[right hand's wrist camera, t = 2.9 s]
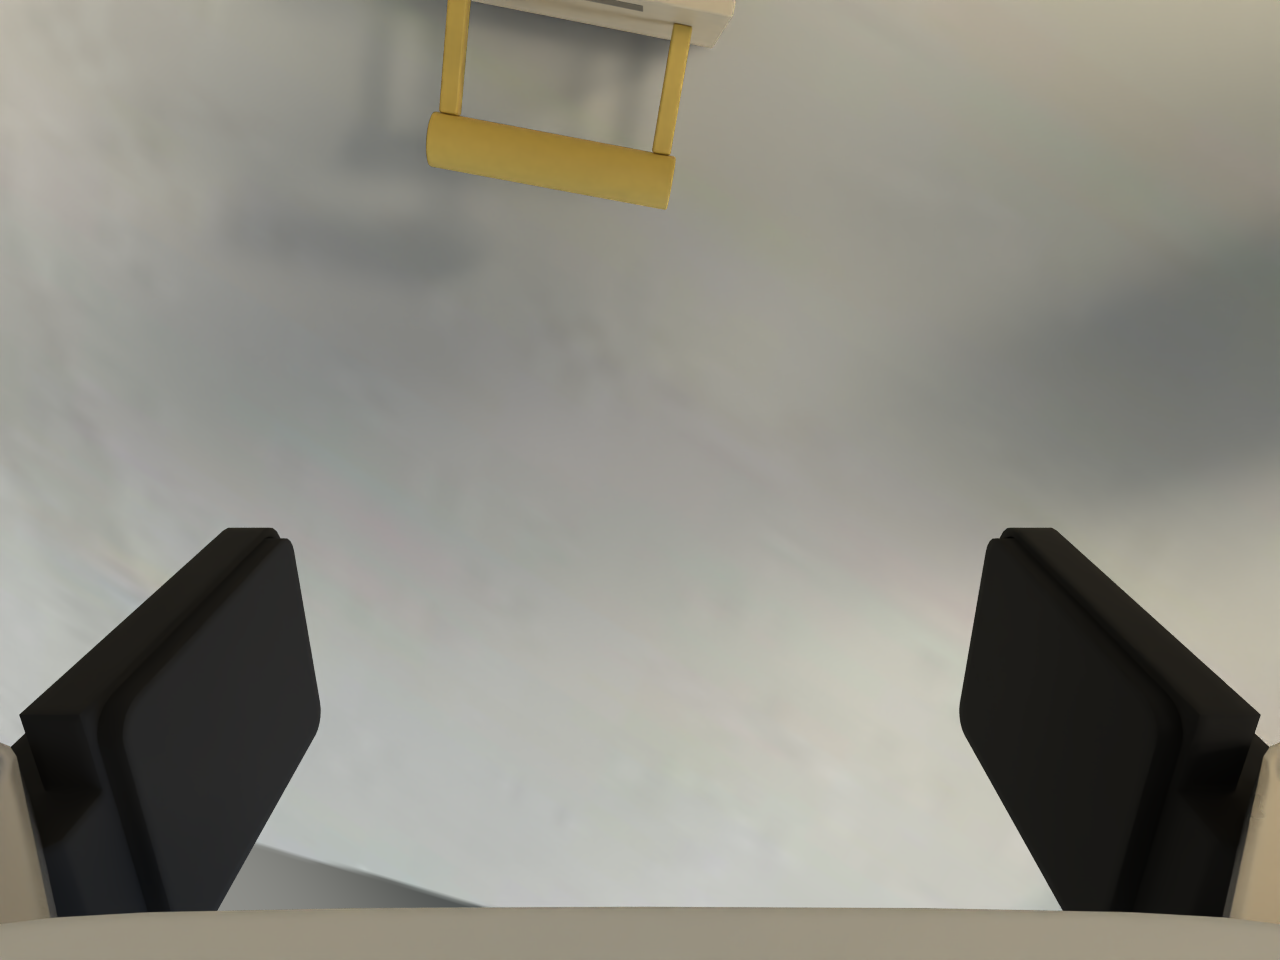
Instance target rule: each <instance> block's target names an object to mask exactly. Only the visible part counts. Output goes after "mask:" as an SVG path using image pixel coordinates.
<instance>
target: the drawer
mask: <svg viewBox="0 0 1280 960" xmlns="http://www.w3.org/2000/svg"><path fill="white" fill-rule="evenodd" d="M471 1H475V2H480V3H485V4H490V5H495V6H500V7H505V8H510V9H515V10H520V11H526V12H531V13H536V14H541V15H546V16H551V17H556V18H561V19H566V20H571V21H576V22H581V23H586V24H591V25H596V26H602V27H607V28H612V29H617V30H622V31H627V32H632V33H637V34H642V35H647V36H652V37H657V38H662V39H667V40H671V41H670V47H669V53H668V59H667V65H666V71H665V77H664V82H663V88H662V94H661V100H660V106H659V112H658V118H657V124H656V130H655V136H654V142H653V148H652V152H647V151H642V150H637V149H632V148H626V147H621V146H616V145H610V144H605V143H600V142H595V141H589V140H584V139H579V138H573V137H568V136H563V135H558V134H552V133H547V132H542V131H536V130H531V129H526V128H520V127H515V126H510V125H505V124H499V123H494V122H489V121H483V120H478V119H473V118H468V117H462V116H460V115H461V107H462V96H463V84H464V73H465V61H466V50H467V38H468V27H469V15H470V4H471ZM735 2H736V0H448V3H447V16H446V29H445V42H444V55H443V67H442V80H441V93H440V106H439V111H440V112H433V114H432V115H431V118H430V120H429V124H428V129H427V138H426V155H427V161H428V164H429V165H430V166H431V167H437V168H442V169H447V170H453V171H458V172H464V173H469V174H475V175H480V176H485V177H491V178H496V179H502V180H507V181H512V182H518V183H523V184H529V185H534V186H539V187H545V188H550V189H556V190H561V191H566V192H572V193H577V194H583V195H588V196H593V197H599V198H604V199H610V200H615V201H620V202H626V203H631V204H637V205H642V206H647V207H653V208H658V209H664V210H666V209H667V206H668V202H669V197H670V192H671V186H672V181H673V175H674V168H675V161H676V159H675V157H674V156H669V155H670V153H671V148H672V142H673V136H674V131H675V125H676V119H677V114H678V108H679V102H680V96H681V91H682V85H683V79H684V74H685V68H686V62H687V57H688V51H689V45H690V44H693V45H698V46H703V47H708V48H713V46H714V45H715V43H716V41H717V40H718V38H719V37H720V35H721V34H722V32H723V30H724V29H725V27H726V26H727V24H728V23H729V21H730V19H731V18H732V16H733V13H734V8H735ZM653 152H654V153H653Z"/></svg>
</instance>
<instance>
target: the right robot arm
mask: <svg viewBox="0 0 1280 960" xmlns="http://www.w3.org/2000/svg"><path fill="white" fill-rule="evenodd" d="M320 714H321V708H320V700H319V694H318V688H317V682H316V677H315V671H314V665H313V659H312V653H311V647H310V642H309V636H308V630H307V624H306V618H305V612H304V607H303V601H302V595H301V589H300V583H299V577H298V572H297V566H296V560H295V554H294V549H293V546H292V544H291V542H290V541H289V540H288V539H285V538H280V537H279V535H278V533H277V531H276V530H274V529H273V528H227V529H225V530H224V531H222V532H221V533H220V534H219V535H218V536H217V537H216V538H215V539H214V540H212V541H211V542H210V543H209V544H208V545H207V546H206V547H205V548H204V549H202V550H201V551H200V552H199V553H198V554H197V555H196V556H195V557H194V558H192V559H191V560H190V561H189V562H188V563H187V564H186V565H185V566H184V567H182V568H181V569H180V570H179V571H178V572H177V573H176V574H175V575H174V576H173V577H171V578H170V579H169V580H168V581H167V582H166V583H165V584H164V585H163V586H161V587H160V588H159V589H158V590H157V591H156V592H155V593H154V594H153V595H151V596H150V597H149V598H148V599H147V600H146V601H145V602H144V603H143V604H141V605H140V606H139V607H138V608H137V609H136V610H135V611H134V612H133V613H132V614H130V615H129V616H128V617H127V618H126V619H125V620H124V621H123V622H122V623H120V624H119V625H118V626H117V627H116V628H115V629H114V630H113V631H112V632H110V633H109V634H108V635H107V636H106V637H105V638H104V639H103V640H102V641H100V642H99V643H98V644H97V645H96V646H95V647H94V648H93V649H92V650H91V651H89V652H88V653H87V654H86V655H85V656H84V657H83V658H82V659H81V660H79V661H78V662H77V663H76V664H75V665H74V666H73V667H72V668H71V669H69V670H68V671H67V672H66V673H65V674H64V675H63V676H62V677H61V678H59V679H58V680H57V681H56V682H55V683H54V684H53V685H52V686H51V687H50V688H48V689H47V690H46V691H45V692H44V693H43V694H42V695H41V696H40V697H38V698H37V699H36V700H35V701H34V702H33V703H32V704H31V705H30V706H28V707H27V708H26V709H25V710H24V711H23V712H22V713H21V714H20V718H21V721H22V724H23V727H24V730H25V734H24V735H23V736H22V737H21V738H20V739H19V740H18V741H17V742H16V743H15V744H13V745H12V746H11V747H10V746H7V745H5V744H2V743H0V960H1280V743H1278V744H1275V745H1273V746H1270V747H1269V746H1268V745H1267V744H1265V743H1264V742H1263V741H1262V740H1261V739H1260V738H1259V737H1258V736H1257V735H1256V734H1255V730H1256V727H1257V724H1258V721H1259V718H1260V714H1259V713H1258V712H1257V711H1256V710H1255V709H1254V708H1253V707H1252V706H1250V705H1249V704H1248V703H1247V702H1246V701H1245V700H1244V699H1243V698H1242V697H1240V696H1239V695H1238V694H1237V693H1236V692H1235V691H1234V690H1233V689H1232V688H1230V687H1229V686H1228V685H1227V684H1226V683H1225V682H1224V681H1223V680H1222V679H1221V678H1219V677H1218V676H1217V675H1216V674H1215V673H1214V672H1213V671H1212V670H1211V669H1209V668H1208V667H1207V666H1206V665H1205V664H1204V663H1203V662H1202V661H1201V660H1199V659H1198V658H1197V657H1196V656H1195V655H1194V654H1193V653H1192V652H1191V651H1189V650H1188V649H1187V648H1186V647H1185V646H1184V645H1183V644H1182V643H1181V642H1180V641H1178V640H1177V639H1176V638H1175V637H1174V636H1173V635H1172V634H1171V633H1170V632H1168V631H1167V630H1166V629H1165V628H1164V627H1163V626H1162V625H1161V624H1160V623H1158V622H1157V621H1156V620H1155V619H1154V618H1153V617H1152V616H1151V615H1150V614H1148V613H1147V612H1146V611H1145V610H1144V609H1143V608H1142V607H1141V606H1140V605H1139V604H1137V603H1136V602H1135V601H1134V600H1133V599H1132V598H1131V597H1130V596H1129V595H1127V594H1126V593H1125V592H1124V591H1123V590H1122V589H1121V588H1120V587H1119V586H1117V585H1116V584H1115V583H1114V582H1113V581H1112V580H1111V579H1110V578H1109V577H1107V576H1106V575H1105V574H1104V573H1103V572H1102V571H1101V570H1100V569H1099V568H1098V567H1096V566H1095V565H1094V564H1093V563H1092V562H1091V561H1090V560H1089V559H1088V558H1086V557H1085V556H1084V555H1083V554H1082V553H1081V552H1080V551H1079V550H1078V549H1076V548H1075V547H1074V546H1073V545H1072V544H1071V543H1070V542H1069V541H1068V540H1066V539H1065V538H1064V537H1063V536H1062V535H1061V534H1060V533H1059V532H1058V531H1056V530H1055V529H1053V528H1007V529H1006V530H1004V531H1003V533H1002V535H1001V537H1000V538H995V539H992V540H991V541H990V542H989V544H988V546H987V549H986V554H985V560H984V566H983V572H982V577H981V583H980V589H979V595H978V601H977V607H976V612H975V618H974V624H973V630H972V636H971V642H970V647H969V653H968V659H967V665H966V671H965V677H964V682H963V688H962V694H961V700H960V708H959V714H960V723H961V727H962V730H963V732H964V735H965V737H966V738H967V740H968V742H969V744H970V746H971V747H972V749H973V751H974V753H975V755H976V756H977V758H978V760H979V762H980V763H981V765H982V767H983V769H984V771H985V772H986V774H987V776H988V778H989V780H990V781H991V783H992V785H993V787H994V788H995V790H996V792H997V794H998V796H999V797H1000V799H1001V801H1002V803H1003V805H1004V806H1005V808H1006V810H1007V812H1008V814H1009V815H1010V817H1011V819H1012V821H1013V822H1014V824H1015V826H1016V828H1017V830H1018V831H1019V833H1020V835H1021V837H1022V839H1023V840H1024V842H1025V844H1026V846H1027V847H1028V849H1029V851H1030V853H1031V855H1032V856H1033V858H1034V860H1035V862H1036V864H1037V865H1038V867H1039V869H1040V871H1041V873H1042V874H1043V876H1044V878H1045V880H1046V881H1047V883H1048V885H1049V887H1050V889H1051V890H1052V892H1053V894H1054V896H1055V898H1056V899H1057V901H1058V903H1059V905H1060V906H1061V908H1062V910H1063V911H1040V910H988V909H936V908H771V907H509V908H344V909H292V910H241V911H217V910H218V908H219V906H220V905H221V903H222V901H223V899H224V898H225V896H226V894H227V892H228V890H229V889H230V887H231V885H232V883H233V881H234V880H235V878H236V876H237V874H238V872H239V871H240V869H241V867H242V865H243V864H244V862H245V860H246V858H247V856H248V855H249V853H250V851H251V849H252V847H253V846H254V844H255V842H256V840H257V839H258V837H259V835H260V833H261V831H262V830H263V828H264V826H265V824H266V822H267V821H268V819H269V817H270V815H271V814H272V812H273V810H274V808H275V806H276V805H277V803H278V801H279V799H280V797H281V796H282V794H283V792H284V790H285V788H286V787H287V785H288V783H289V781H290V780H291V778H292V776H293V774H294V772H295V771H296V769H297V767H298V765H299V763H300V762H301V760H302V758H303V756H304V754H305V753H306V751H307V749H308V747H309V746H310V744H311V742H312V740H313V738H314V737H315V735H316V732H317V730H318V727H319V723H320Z"/></svg>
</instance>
